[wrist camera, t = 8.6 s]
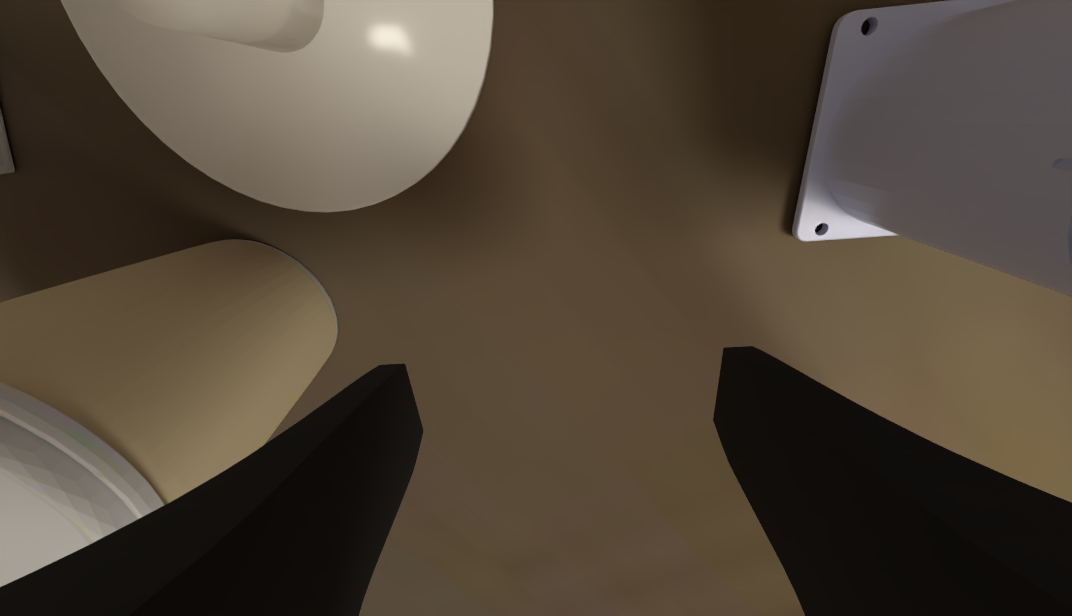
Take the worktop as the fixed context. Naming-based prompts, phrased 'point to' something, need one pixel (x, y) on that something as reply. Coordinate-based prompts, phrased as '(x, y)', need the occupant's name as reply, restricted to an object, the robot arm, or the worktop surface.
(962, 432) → the worktop surface
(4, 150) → the supplement box
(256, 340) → the coffee cup
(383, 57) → the lid
